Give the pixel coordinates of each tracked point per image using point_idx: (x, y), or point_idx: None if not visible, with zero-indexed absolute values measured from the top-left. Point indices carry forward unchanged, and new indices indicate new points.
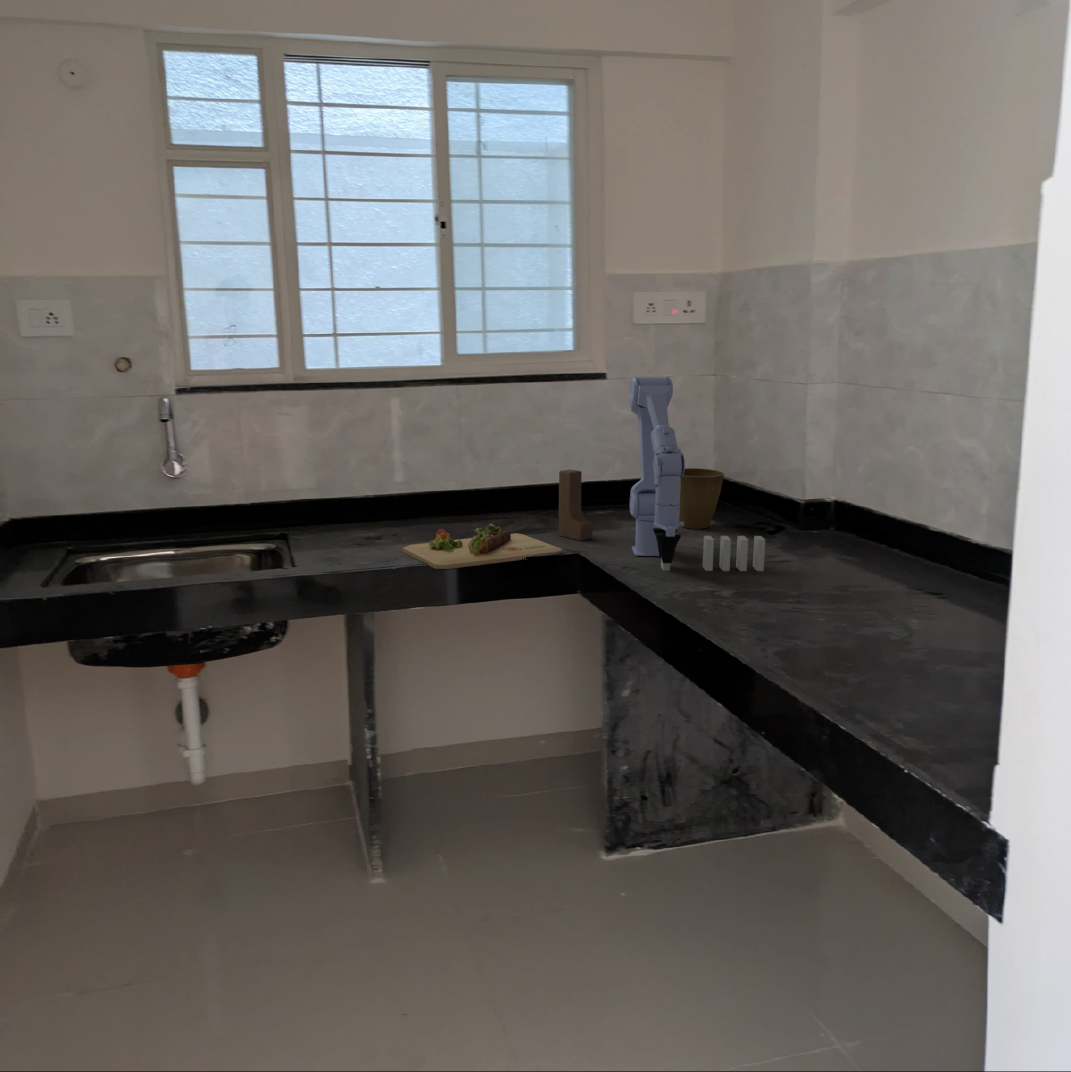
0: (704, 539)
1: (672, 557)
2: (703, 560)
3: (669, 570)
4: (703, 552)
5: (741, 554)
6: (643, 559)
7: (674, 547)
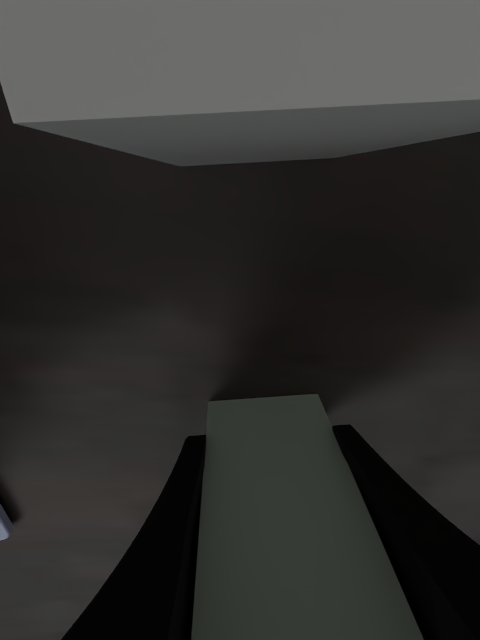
0: (202, 129)
1: (374, 453)
2: (206, 161)
3: (318, 396)
4: (179, 158)
5: None
6: (67, 496)
7: (460, 537)
